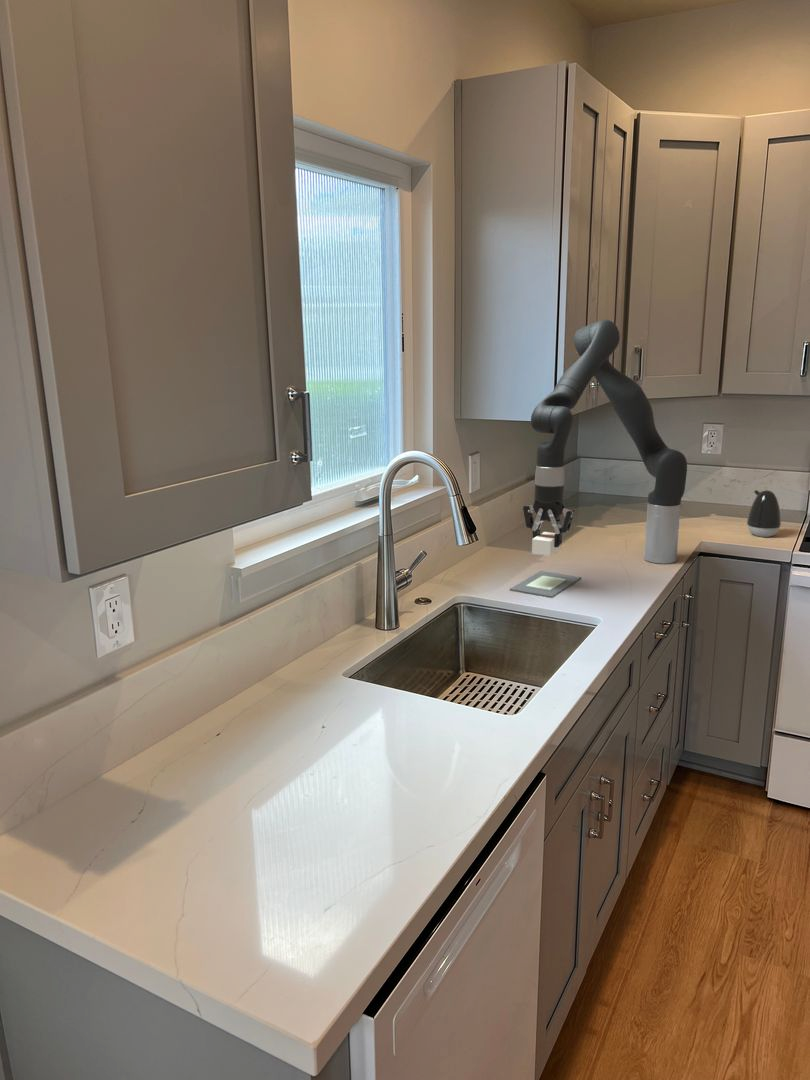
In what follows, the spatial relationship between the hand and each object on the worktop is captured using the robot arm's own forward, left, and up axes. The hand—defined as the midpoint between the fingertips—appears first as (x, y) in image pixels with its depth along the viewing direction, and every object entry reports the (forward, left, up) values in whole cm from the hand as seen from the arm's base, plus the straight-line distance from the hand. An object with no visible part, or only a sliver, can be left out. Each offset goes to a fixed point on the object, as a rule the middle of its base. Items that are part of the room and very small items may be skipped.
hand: (547, 545), depth 212 cm
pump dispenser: (-88, +39, -11) cm, 97 cm away
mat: (0, 0, -11) cm, 11 cm away
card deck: (0, 0, -2) cm, 2 cm away
